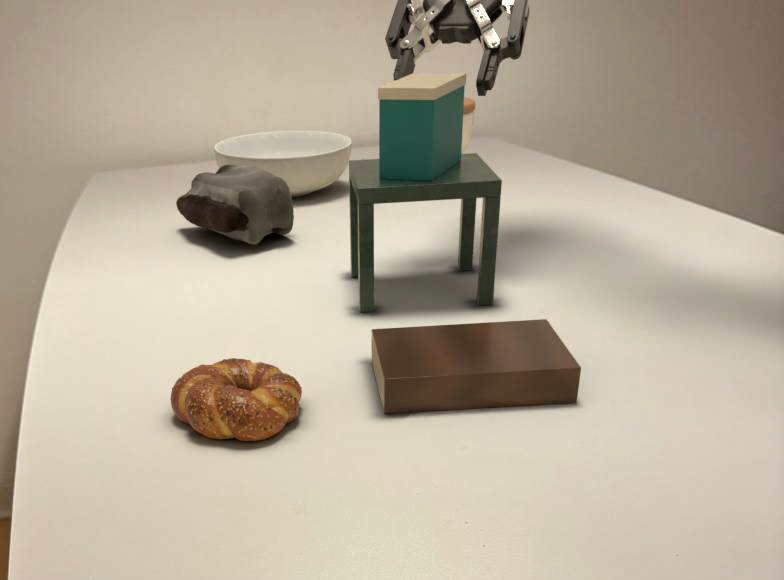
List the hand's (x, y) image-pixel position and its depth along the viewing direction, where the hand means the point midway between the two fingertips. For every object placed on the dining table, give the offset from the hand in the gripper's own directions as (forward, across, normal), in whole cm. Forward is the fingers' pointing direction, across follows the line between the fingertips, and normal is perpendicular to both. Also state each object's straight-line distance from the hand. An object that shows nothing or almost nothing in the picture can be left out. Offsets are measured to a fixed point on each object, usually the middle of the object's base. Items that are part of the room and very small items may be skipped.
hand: (440, 90), depth 98 cm
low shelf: (+34, +13, -8) cm, 37 cm away
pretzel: (+44, -3, -18) cm, 47 cm away
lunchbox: (+9, 0, 0) cm, 9 cm away
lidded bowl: (-28, -19, +54) cm, 64 cm away
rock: (+7, -30, +19) cm, 36 cm away
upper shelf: (+17, 0, +9) cm, 19 cm away
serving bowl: (-11, -35, +38) cm, 53 cm away
